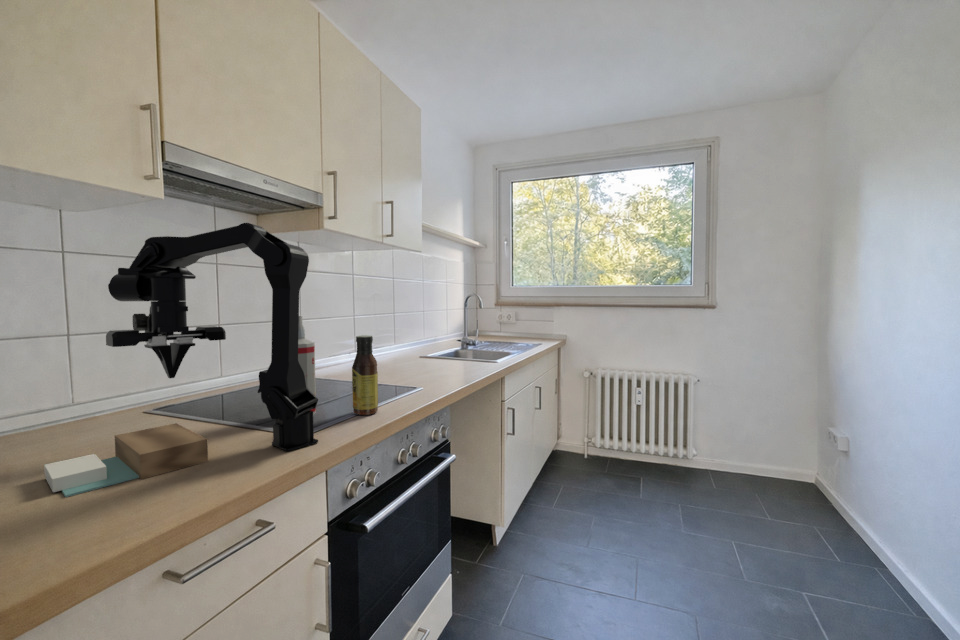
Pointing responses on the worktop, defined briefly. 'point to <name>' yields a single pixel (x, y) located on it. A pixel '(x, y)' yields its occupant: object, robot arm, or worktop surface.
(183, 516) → the worktop surface
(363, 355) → the sauce bottle
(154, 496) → the worktop surface
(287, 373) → the robot arm
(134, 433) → the brown box
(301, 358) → the spray bottle
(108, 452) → the worktop surface
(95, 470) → the white block
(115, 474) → the mat
